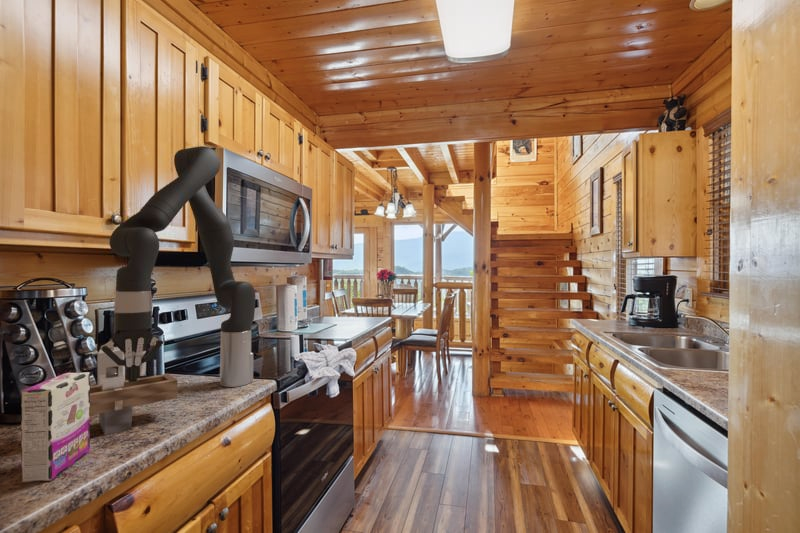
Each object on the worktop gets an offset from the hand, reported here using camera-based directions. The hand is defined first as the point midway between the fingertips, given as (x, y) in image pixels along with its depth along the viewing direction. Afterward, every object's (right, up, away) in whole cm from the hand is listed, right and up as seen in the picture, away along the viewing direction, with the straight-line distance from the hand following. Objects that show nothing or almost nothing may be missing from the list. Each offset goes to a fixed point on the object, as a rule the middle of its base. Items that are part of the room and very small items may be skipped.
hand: (132, 381), depth 93 cm
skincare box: (-15, -10, +13) cm, 23 cm away
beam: (-2, -10, -2) cm, 10 cm away
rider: (-3, -3, -3) cm, 5 cm away
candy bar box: (0, -10, -21) cm, 23 cm away
